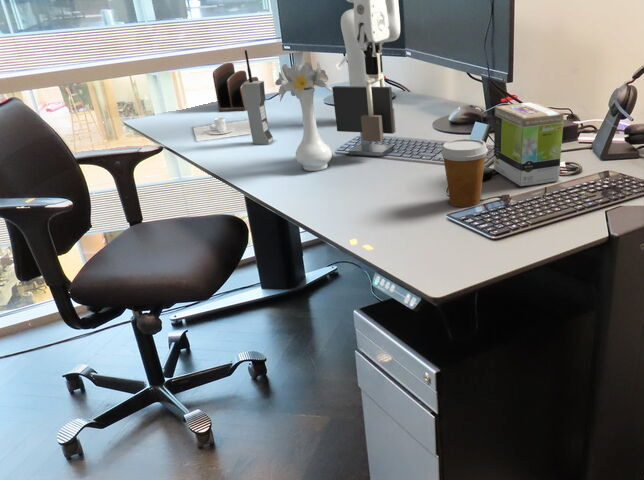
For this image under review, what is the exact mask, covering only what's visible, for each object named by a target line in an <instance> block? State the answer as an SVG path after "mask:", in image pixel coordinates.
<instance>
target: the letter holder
mask: <svg viewBox="0 0 644 480" xmlns="http://www.w3.org/2000/svg"><path fill="white" fill-rule="evenodd" d="M247 75H248V74H247V72H246V70H238V71H236V70H235V65H234V63H233V62H226V63H223V64H221V65H220V66H218V67H216V68H215V69H214V70H213V71H212V79H213V84H214V91H215V97H216V101H217V106H218V111H219V112H235V111H236V112H237V111H247V107H246V101H245V96H244V90H243V84H244V83H246V82H248V81H249V78H248V76H247ZM252 80H253V81H260V80H259V78H258V77H257V76H252Z"/></svg>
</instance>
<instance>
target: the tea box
mask: <svg viewBox="0 0 644 480" xmlns="http://www.w3.org/2000/svg"><path fill="white" fill-rule="evenodd" d="M564 116H565V114H564V112H562V111H560V110H556V109H553V108H550V107H547V106H546V105H542V104H540V103H536V102H534V101H529V102H521V103H514V104H513V103H512V104H505V105H498V106H497V105H496V106H494V132H493V135H494V136H493V170H494V171H495V172H497V173H498V174H500V175H502V176H503V177H505V178H507V179H508V180H510V181H511V182H513V183H514V184H516V185H518V186H519V187H526V186H535V185H540V184H547V183H553V182H558V181H559V180H560V172H561V156H562V143H563V130H564Z"/></svg>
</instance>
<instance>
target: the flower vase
mask: <svg viewBox="0 0 644 480" xmlns="http://www.w3.org/2000/svg"><path fill="white" fill-rule="evenodd" d="M328 81H329V76H328V75H327V73H326V71H325V70H324V69H322V67H321V65H320V62H319V61H318V60H317V62H316V69H313V66H312V64H311V63H310V62H309V61H305V62H304V65H301V64H297V63H296V62H293V63H292V64H291V66H290V67H289V66H288V65H287V64H286V63H283V64H282V67H280V71H279V72H278V79H276V81H275V84H274V85H275V86H280V87H279V88H278V96H280V97H279V102H281V101H282V99H283V97H284V96H285V94H286V92H290V95H291V96H292V97H296V99H298V100H299V103H300V107H301V115H302V123H303V134H302V139H301V142H300V144H299V145H298V146H297V148H296V151H295V159H296V161H297V162H298V164H300V165H301V166H303V167H302V168H303V170H304V171H308V172H317V171H322V170H325V169H327V168H328V166H329V165H328V163H329V162H330V161H331V159H332V157H333V150H332V148H331V146H330V145H329V144H328V143H327V142H326V141H324V139H323V138H322V136H321V134H320V133H319V132H320V131H319V129H318V125H317V121H316V113H315V106H314V96H315V95H314V93H315V90H316V89H315V87H314V86H317V87H320V88H325V89H327V90H328V91H330V92H331V93H333V90H332V88H331V86H330V85H329V84H328Z"/></svg>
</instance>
